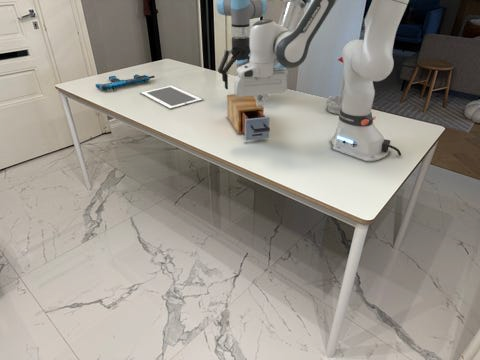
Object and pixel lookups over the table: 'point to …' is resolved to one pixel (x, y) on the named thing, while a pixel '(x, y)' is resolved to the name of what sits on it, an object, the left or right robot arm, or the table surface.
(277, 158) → the table surface
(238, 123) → the cabinet
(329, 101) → the flag stand
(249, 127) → the drawer
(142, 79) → the submachine gun
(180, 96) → the tablet
